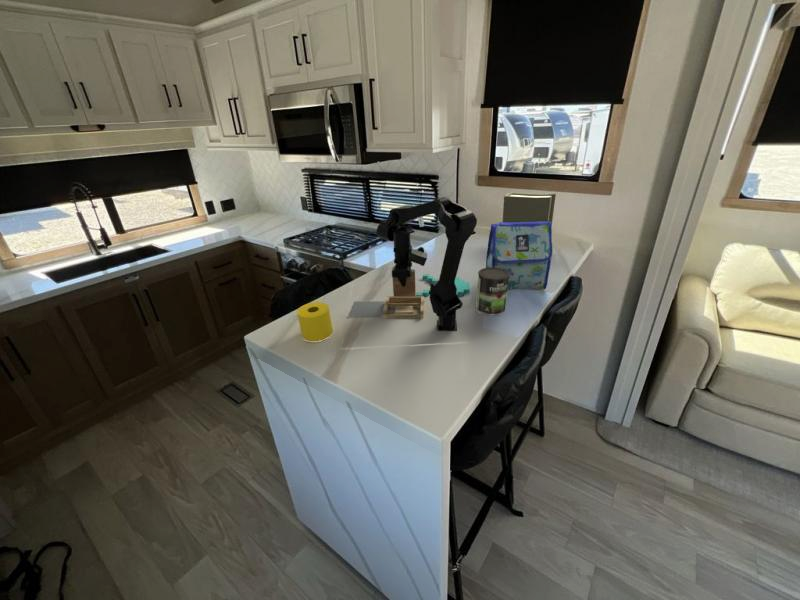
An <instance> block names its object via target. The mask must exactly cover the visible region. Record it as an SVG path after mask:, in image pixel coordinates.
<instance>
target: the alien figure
mask: <svg viewBox="0 0 800 600" xmlns="http://www.w3.org/2000/svg"><path fill="white" fill-rule="evenodd" d="M429 274H430V273H423V274H422V280H423V281H426V282H427V283H431V284H432V283H434V282H436V281H438V280H439V278H434V276H433V275H431V276H430V275H429ZM455 285H456V288H457V292H456V294H457V295H458V297H464V295H465V294H467V295H469V294H470V290H471V289H470V287H471V282H467V281H466V279H460V277H457V276H456V278H455ZM429 292H430V288H429V289H427V290H426V289H423V291H422V292H418V291H417V292H416V296H424V297H430V294H429Z"/></svg>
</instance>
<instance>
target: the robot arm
mask: <svg viewBox="0 0 800 600" xmlns="http://www.w3.org/2000/svg"><path fill="white" fill-rule="evenodd" d="M434 214H435V215H436V216H437V218H438V221H439V223H440V225H442V226H443V227H444V228H445V229H444V230H445V232H444V233H445V235H446V238H447V243H446V248H445V251H444V258H443V261H442V265H441V270H440V275H439V278H438V281H436V282H434V283H432V282H431V284H430V287H429V289H430V292H429V301H430V304H431V305H430V306H431V308H432V312H433V314H435V315H436V316H437V318H438V319H437V320H436V329H437V331H439V332H457V331H458V323H457V310H459V309H461V308H462V307H463V302H462V300H461V298H460V296H458V295H457V294H456V292H457V288H456V285H455V278H456V277H457V274H458V271H459V270H458V269H459V267H460V263H461V259H462V256H463V253H464V248H465V244H466V243H467V241H468V240H469V238H470V237H471V236H472V234H473V233H474V231H475V228H476V227H477V222H478V218H477V217H476V215H475V213H474V212H473V211H472V210H470V209H469V210H468V209H467V208H466V207H465V206H464V205H462V204H459V203H457V202H454V201H452V200H451V199H450V198H449V197H447V196H443V197H439V198H435V199H433V200H432V201H427V202H424V203H420V204H418V205H417V204H416V205H411V204H408V205H403V206H398V207H395V208H391V209H390V210H389V214H388V215H387V218H386V219H385V218H384V219H380V221H379V222H380V223H379V225H378V226H377V227H376V231H375V232H376V236H377V237H378V238H380V239H382V240H385V241H389V242H393V252H392V253H394V254H393V255H394V259H393V264H394V266H393V267H392V269H391V278H392V277H393V278H398V280H399V281H400V283H401V285H402V286H403V287H405V285H406V279H407V277H411V270H412V267H413V263H414V264H418V265H420V266H421V267H422V266H425V265H426V261H427V260H428V253H427V252H425V247H423V246H419V247H418V248H415V249H413V245H412V244H411V234H413V233H415V229H414V228H413V227H412V226H411V225H407V224H409V223H412V222H413V221H415V220H417V219H418V218H422V217H425V216H430V215H434ZM406 225H407V226H406ZM393 278H392V279H393Z"/></svg>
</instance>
